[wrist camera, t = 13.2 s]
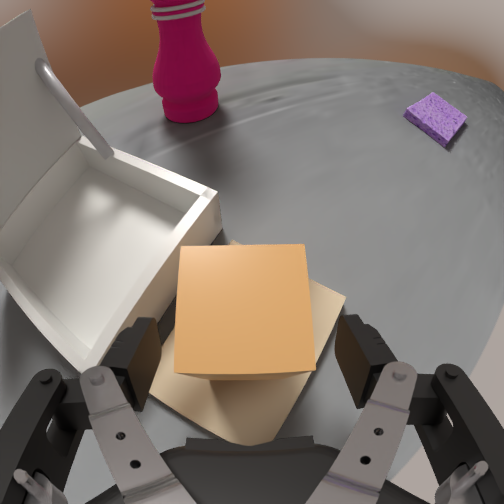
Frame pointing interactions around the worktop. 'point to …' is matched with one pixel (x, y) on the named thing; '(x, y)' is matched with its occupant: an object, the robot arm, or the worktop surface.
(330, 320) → the board
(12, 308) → the worktop surface
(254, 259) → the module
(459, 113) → the sponges
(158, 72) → the pepper mill
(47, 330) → the equipment case
